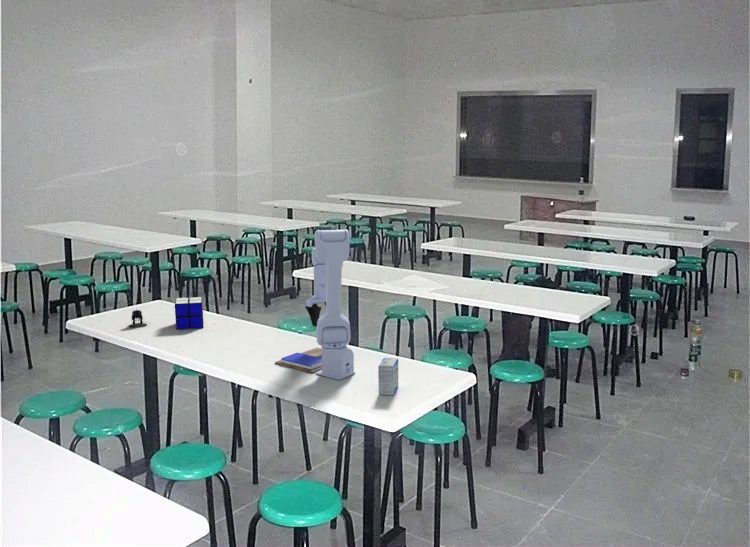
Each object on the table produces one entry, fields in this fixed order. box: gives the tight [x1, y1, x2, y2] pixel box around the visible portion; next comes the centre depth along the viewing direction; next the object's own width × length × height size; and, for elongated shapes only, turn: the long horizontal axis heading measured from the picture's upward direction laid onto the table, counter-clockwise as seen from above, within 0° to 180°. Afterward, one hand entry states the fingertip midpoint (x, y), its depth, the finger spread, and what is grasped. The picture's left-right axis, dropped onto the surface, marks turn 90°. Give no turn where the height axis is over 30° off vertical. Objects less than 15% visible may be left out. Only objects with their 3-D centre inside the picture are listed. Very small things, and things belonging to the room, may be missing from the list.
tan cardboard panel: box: [274, 347, 322, 374], centre depth 229 cm, size 16×20×4 cm
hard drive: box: [280, 352, 322, 370], centre depth 225 cm, size 2×8×12 cm
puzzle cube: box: [174, 296, 204, 330], centre depth 271 cm, size 10×10×10 cm
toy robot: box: [127, 309, 148, 329], centre depth 271 cm, size 12×12×12 cm
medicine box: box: [377, 357, 399, 396], centre depth 202 cm, size 8×4×9 cm, turn 168°
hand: (323, 323), depth 239 cm, fingers open, 7 cm apart
